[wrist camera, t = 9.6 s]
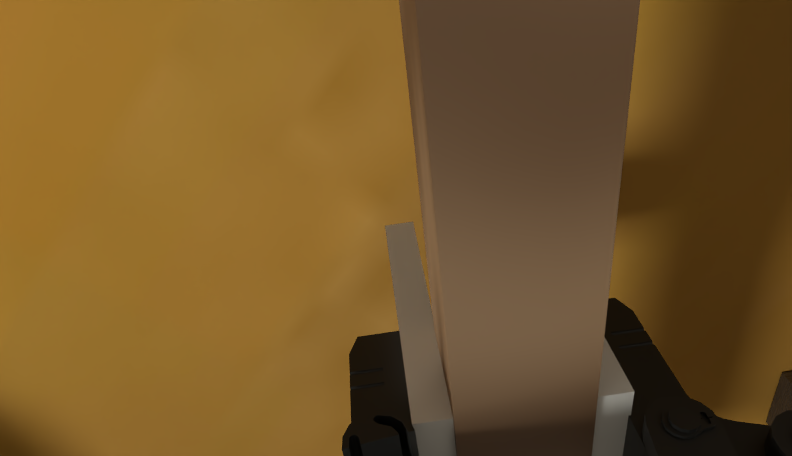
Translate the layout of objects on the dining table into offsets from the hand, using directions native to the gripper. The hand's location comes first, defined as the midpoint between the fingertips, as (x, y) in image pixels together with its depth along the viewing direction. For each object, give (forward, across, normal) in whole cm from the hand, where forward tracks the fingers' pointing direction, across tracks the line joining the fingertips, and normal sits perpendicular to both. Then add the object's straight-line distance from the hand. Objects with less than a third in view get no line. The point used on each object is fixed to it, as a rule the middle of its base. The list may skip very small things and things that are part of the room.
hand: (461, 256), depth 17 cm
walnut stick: (-4, 0, 0) cm, 4 cm away
